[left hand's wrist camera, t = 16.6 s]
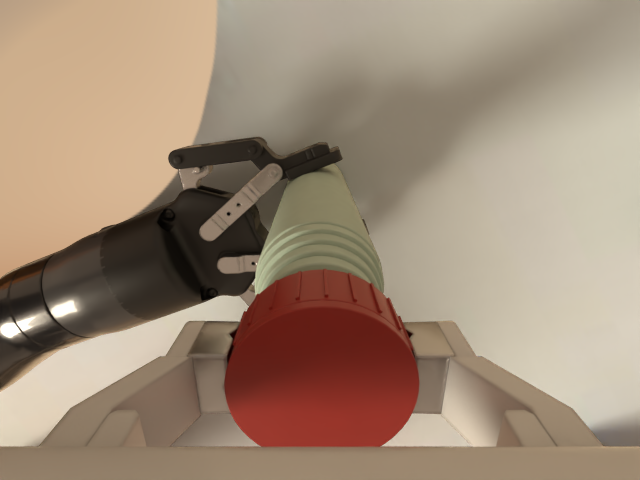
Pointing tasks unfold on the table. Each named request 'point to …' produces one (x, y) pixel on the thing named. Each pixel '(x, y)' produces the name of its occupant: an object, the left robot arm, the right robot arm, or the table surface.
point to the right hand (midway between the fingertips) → (352, 191)
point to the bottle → (318, 232)
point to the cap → (321, 364)
